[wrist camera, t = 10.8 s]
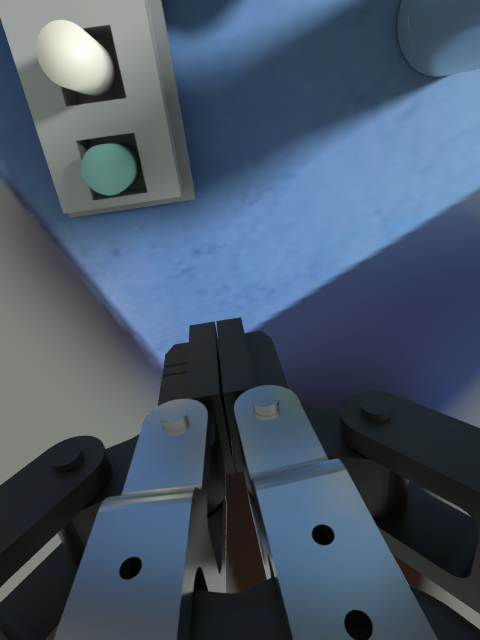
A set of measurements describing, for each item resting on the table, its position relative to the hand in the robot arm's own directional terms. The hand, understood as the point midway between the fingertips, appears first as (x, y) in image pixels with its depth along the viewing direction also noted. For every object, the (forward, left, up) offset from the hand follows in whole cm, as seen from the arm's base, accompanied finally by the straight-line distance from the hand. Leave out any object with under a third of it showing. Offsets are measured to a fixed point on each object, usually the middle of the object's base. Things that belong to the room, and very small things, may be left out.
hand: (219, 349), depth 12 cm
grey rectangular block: (+7, -11, -32) cm, 35 cm away
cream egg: (+7, -11, -26) cm, 29 cm away
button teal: (+7, -4, -28) cm, 30 cm away
